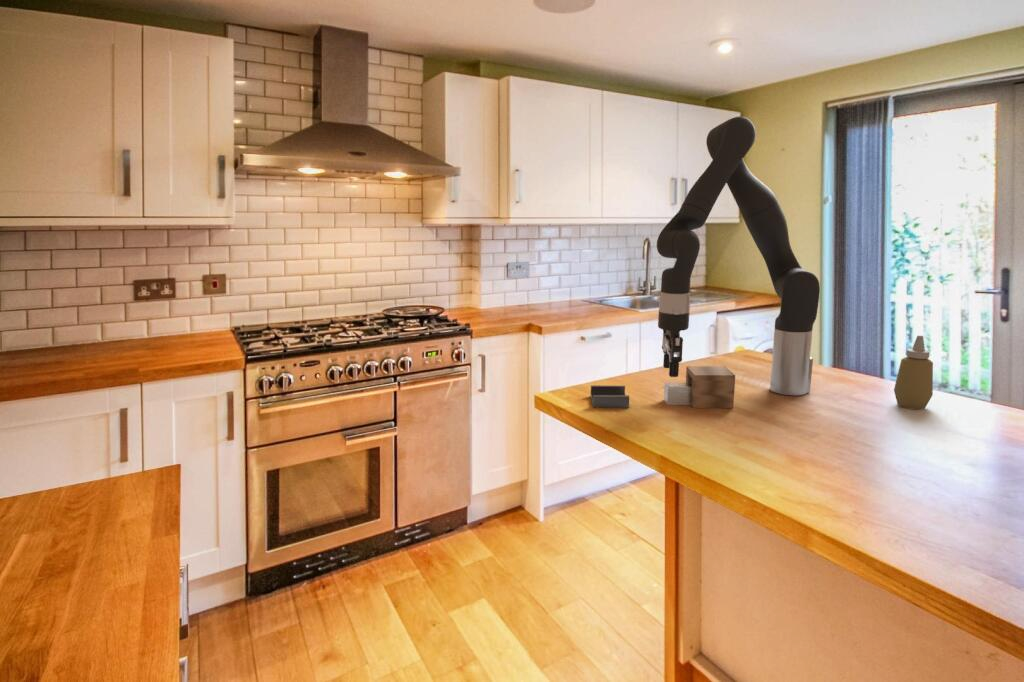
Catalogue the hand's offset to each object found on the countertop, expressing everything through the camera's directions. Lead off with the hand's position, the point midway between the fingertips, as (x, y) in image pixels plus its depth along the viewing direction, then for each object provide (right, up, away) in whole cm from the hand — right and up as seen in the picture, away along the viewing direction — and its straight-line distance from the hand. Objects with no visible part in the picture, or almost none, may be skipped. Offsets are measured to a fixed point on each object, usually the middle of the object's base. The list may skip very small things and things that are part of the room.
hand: (670, 372), depth 157 cm
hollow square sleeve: (+10, -8, +1) cm, 13 cm away
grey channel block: (-15, -8, +2) cm, 17 cm away
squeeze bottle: (+59, -9, -5) cm, 60 cm away
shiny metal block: (+5, -8, +1) cm, 9 cm away
